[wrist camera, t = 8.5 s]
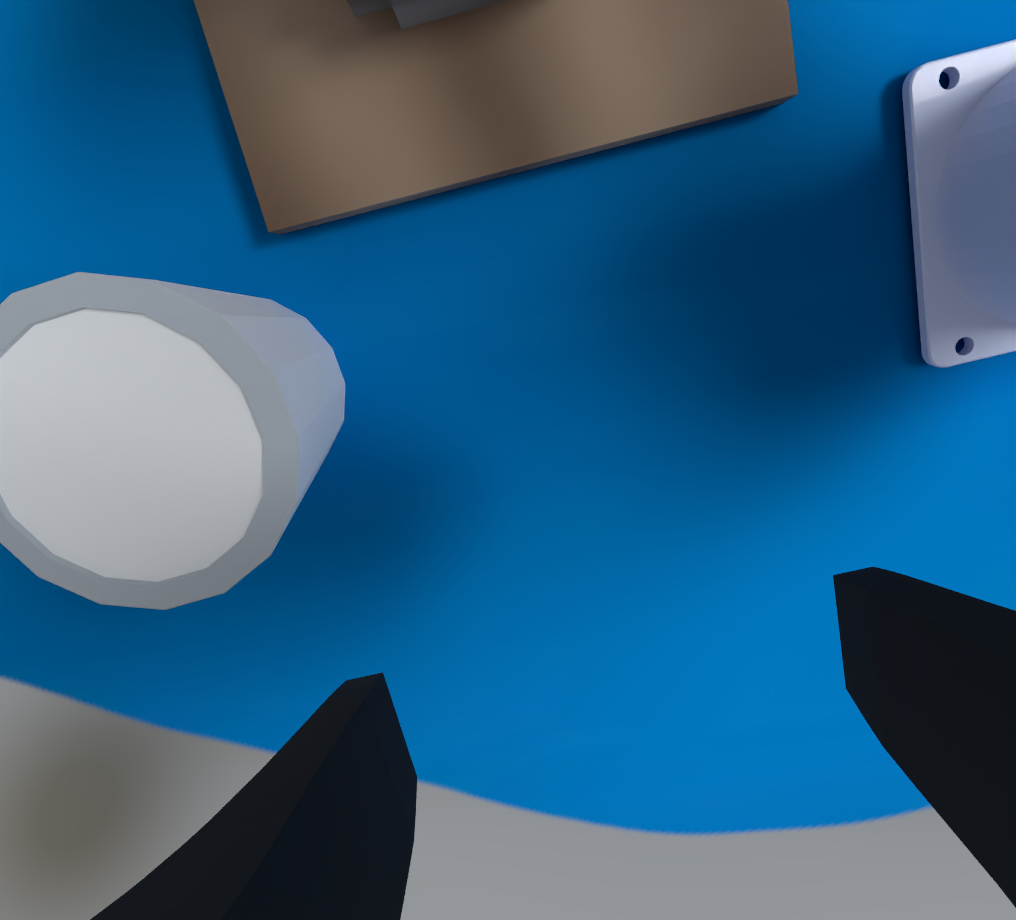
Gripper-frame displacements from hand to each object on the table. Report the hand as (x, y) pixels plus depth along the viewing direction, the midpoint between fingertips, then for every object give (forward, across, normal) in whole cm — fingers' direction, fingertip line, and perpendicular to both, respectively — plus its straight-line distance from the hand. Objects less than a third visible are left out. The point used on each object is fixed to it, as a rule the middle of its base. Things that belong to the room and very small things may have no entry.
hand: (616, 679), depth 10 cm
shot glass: (+11, +8, -5) cm, 14 cm away
